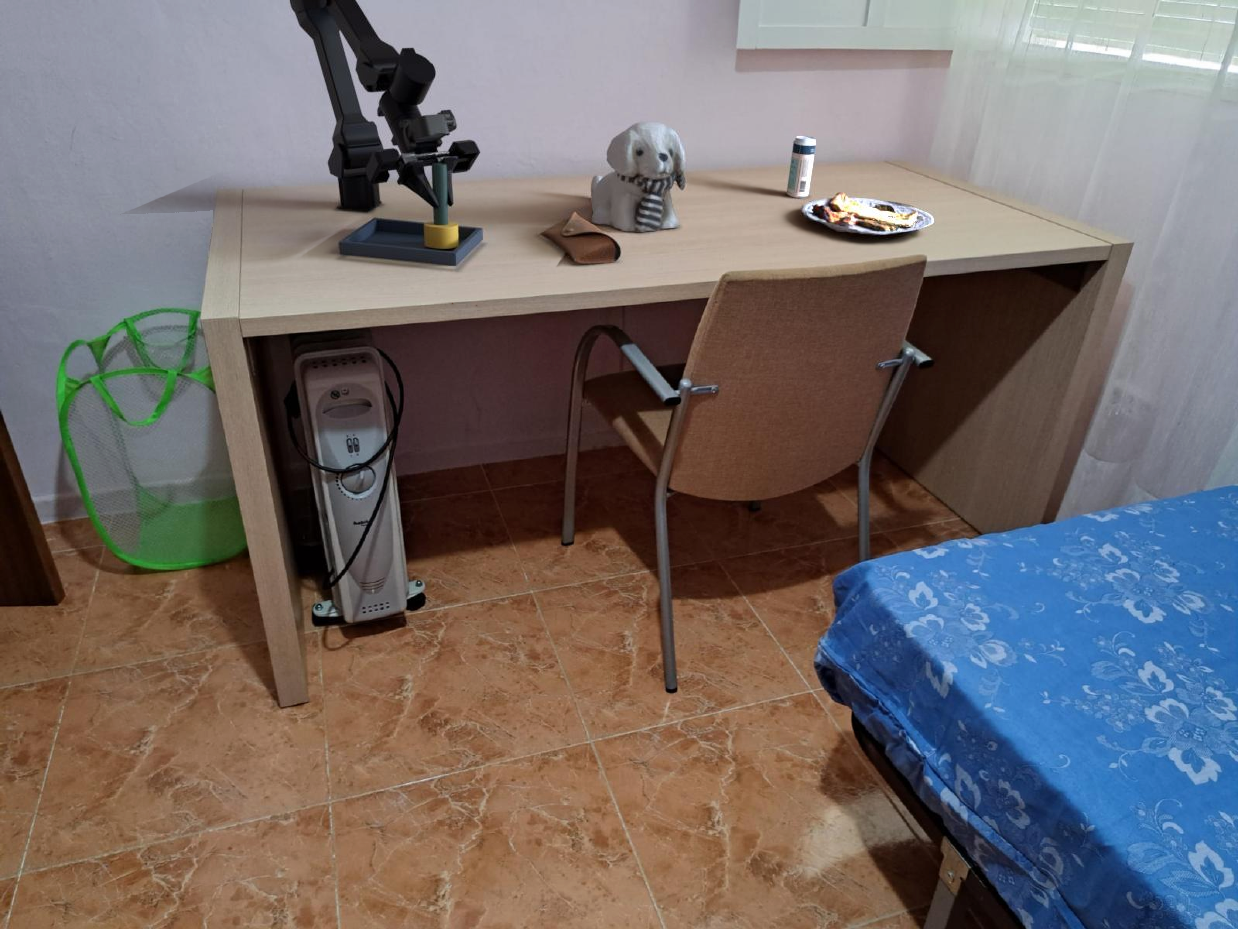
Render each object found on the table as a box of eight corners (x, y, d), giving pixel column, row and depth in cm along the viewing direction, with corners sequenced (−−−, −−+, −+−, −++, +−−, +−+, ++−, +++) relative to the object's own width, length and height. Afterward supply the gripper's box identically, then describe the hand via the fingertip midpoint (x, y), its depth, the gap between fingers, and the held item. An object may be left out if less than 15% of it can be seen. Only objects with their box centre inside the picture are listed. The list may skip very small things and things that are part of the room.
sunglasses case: (534, 232, 162) (552, 198, 160) (565, 248, 166) (582, 215, 164) (576, 263, 148) (595, 227, 146) (608, 280, 152) (627, 245, 151)
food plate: (777, 220, 178) (780, 202, 176) (839, 201, 193) (842, 184, 191) (892, 251, 164) (896, 232, 162) (949, 227, 179) (953, 210, 177)
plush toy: (653, 239, 163) (660, 133, 154) (543, 213, 174) (543, 113, 165) (700, 218, 176) (709, 119, 167) (594, 195, 187) (597, 101, 178)
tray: (340, 258, 146) (338, 241, 145) (375, 233, 159) (374, 217, 157) (456, 270, 144) (455, 253, 143) (483, 243, 157) (482, 227, 155)
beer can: (811, 195, 196) (820, 137, 189) (803, 199, 192) (811, 141, 186) (791, 191, 198) (799, 134, 192) (782, 195, 194) (790, 137, 188)
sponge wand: (421, 247, 149) (418, 165, 143) (428, 240, 154) (425, 161, 148) (455, 249, 149) (453, 167, 143) (461, 242, 154) (459, 162, 148)
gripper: (366, 95, 137) (407, 185, 136) (472, 88, 148) (511, 171, 146) (349, 140, 146) (387, 224, 145) (449, 129, 157) (486, 208, 156)
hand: (444, 206), depth 148 cm, fingers closed on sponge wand, 2 cm apart
